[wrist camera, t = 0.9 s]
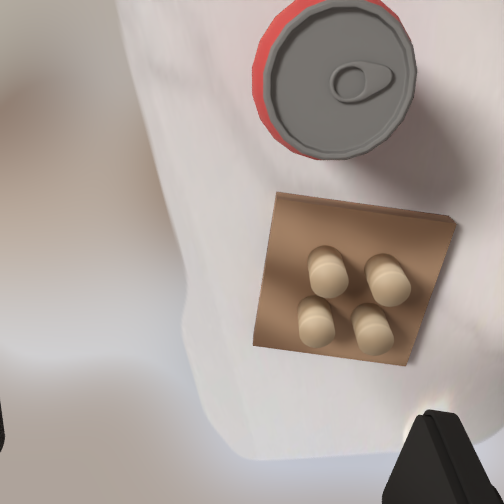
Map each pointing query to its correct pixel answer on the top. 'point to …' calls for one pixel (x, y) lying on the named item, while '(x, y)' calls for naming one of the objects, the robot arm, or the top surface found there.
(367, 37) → the beer can
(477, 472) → the robot arm
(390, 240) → the peg stand
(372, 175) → the top surface
